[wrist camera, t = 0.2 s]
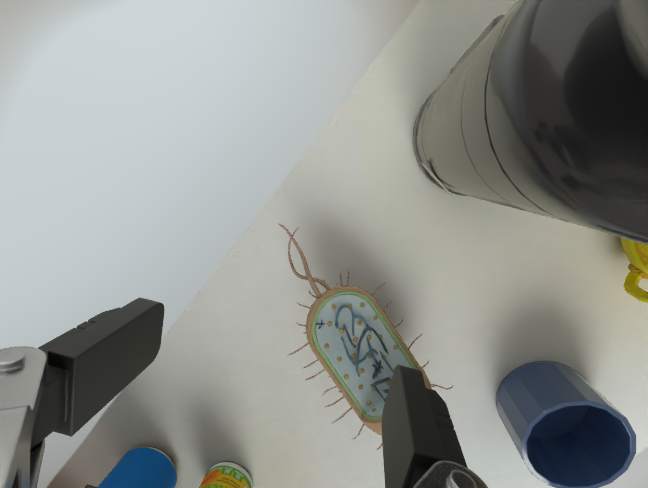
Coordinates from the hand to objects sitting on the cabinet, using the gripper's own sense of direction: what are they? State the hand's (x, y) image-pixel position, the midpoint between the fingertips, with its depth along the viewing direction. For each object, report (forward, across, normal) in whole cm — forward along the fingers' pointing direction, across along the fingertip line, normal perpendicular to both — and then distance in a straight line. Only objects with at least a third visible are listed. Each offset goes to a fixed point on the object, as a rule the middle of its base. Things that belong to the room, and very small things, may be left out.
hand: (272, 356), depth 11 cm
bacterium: (+20, -3, +6) cm, 21 cm away
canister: (+20, -22, +10) cm, 31 cm away
